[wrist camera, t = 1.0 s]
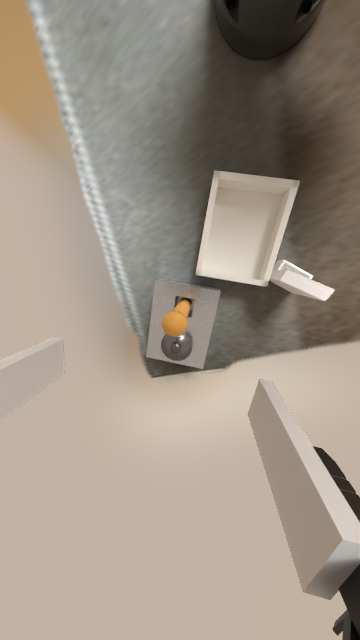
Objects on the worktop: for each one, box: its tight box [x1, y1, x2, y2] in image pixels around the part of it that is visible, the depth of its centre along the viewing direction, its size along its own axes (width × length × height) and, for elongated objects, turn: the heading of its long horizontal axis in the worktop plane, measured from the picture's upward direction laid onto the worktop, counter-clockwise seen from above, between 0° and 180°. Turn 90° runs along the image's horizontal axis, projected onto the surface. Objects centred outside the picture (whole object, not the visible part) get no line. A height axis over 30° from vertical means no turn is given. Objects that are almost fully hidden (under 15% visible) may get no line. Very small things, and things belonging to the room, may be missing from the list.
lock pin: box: [162, 297, 192, 337], centre depth 29 cm, size 3×3×15 cm
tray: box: [195, 170, 300, 287], centre depth 30 cm, size 16×13×4 cm
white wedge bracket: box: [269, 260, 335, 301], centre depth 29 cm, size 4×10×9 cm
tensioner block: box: [146, 278, 221, 369], centre depth 34 cm, size 16×12×8 cm
